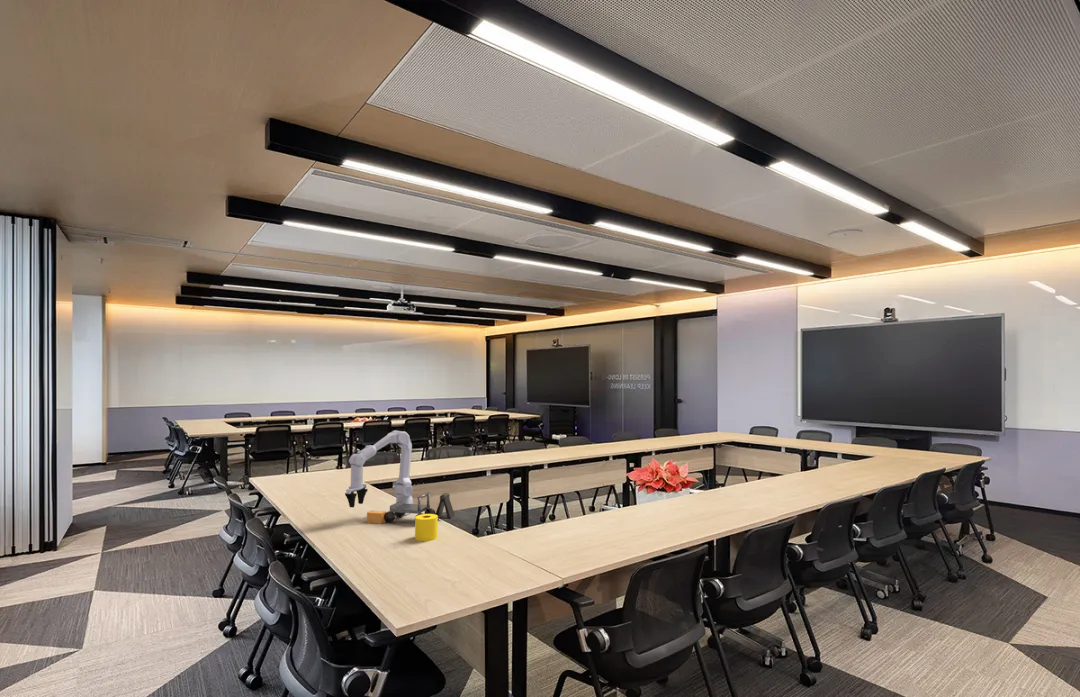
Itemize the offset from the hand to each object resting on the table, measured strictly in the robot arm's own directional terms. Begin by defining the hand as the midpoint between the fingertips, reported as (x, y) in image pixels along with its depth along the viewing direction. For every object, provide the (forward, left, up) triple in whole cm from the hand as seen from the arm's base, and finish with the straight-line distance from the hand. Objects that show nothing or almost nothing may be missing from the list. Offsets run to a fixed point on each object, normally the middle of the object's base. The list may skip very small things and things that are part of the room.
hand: (356, 505), depth 273 cm
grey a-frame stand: (-20, +39, -9) cm, 45 cm away
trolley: (-9, +25, -8) cm, 28 cm away
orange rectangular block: (-4, +9, -9) cm, 13 cm away
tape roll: (+15, +46, -9) cm, 49 cm away
